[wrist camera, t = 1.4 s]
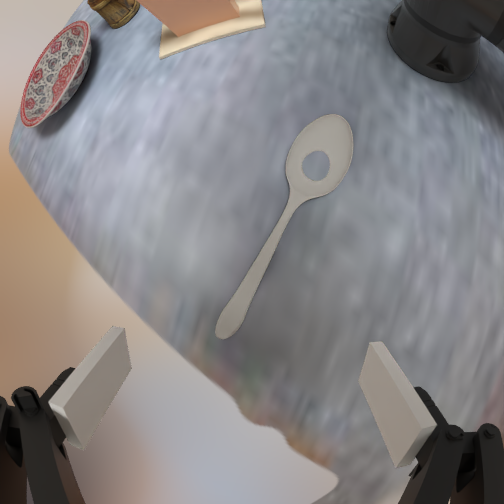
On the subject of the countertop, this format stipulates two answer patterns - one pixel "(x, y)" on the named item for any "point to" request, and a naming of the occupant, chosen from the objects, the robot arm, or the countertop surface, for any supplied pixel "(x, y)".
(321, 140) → the spoon
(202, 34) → the cream cloth
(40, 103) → the ceramic bowl
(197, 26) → the ceramic tile
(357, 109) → the countertop surface
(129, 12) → the wooden mug
